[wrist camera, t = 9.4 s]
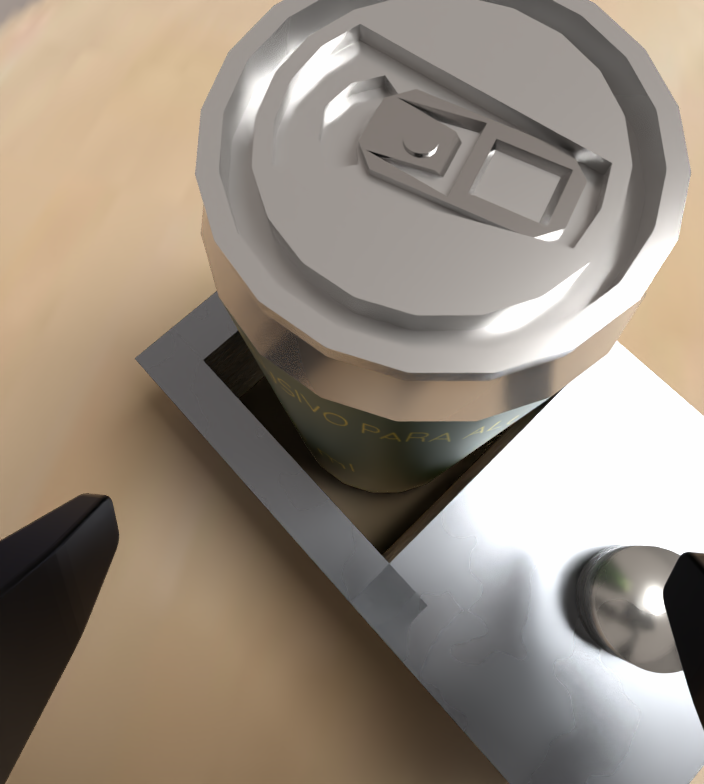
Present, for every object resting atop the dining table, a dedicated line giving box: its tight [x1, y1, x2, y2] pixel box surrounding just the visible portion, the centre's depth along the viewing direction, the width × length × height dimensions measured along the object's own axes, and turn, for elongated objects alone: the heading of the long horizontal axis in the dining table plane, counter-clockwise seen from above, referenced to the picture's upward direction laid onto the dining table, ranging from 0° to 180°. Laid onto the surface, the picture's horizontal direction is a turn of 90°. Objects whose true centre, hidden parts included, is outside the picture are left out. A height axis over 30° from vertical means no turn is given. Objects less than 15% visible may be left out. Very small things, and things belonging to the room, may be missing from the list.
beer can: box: [195, 0, 691, 492], centre depth 11 cm, size 5×5×12 cm
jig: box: [135, 291, 704, 784], centre depth 14 cm, size 15×9×5 cm, turn 43°
